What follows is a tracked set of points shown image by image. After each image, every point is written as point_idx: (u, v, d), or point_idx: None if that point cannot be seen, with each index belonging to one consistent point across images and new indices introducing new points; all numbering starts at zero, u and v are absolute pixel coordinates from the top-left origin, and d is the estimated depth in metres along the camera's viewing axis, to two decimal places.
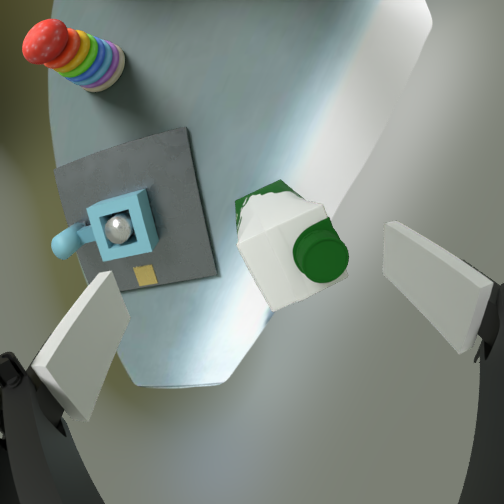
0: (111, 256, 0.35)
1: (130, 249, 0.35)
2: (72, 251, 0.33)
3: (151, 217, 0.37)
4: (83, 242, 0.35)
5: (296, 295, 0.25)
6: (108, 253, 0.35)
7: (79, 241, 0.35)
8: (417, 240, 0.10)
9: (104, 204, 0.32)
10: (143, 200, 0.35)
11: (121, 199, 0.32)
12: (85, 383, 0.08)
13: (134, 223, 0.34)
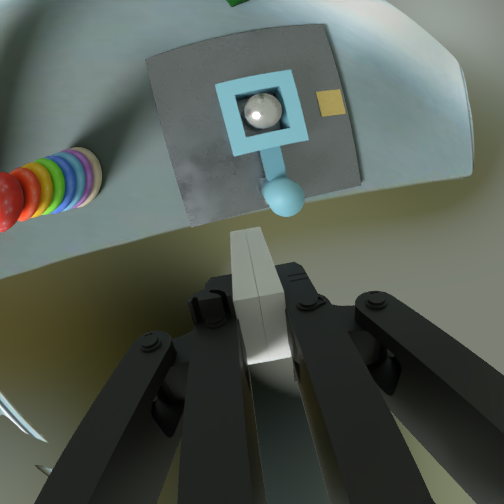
0: (300, 125, 0.26)
1: (289, 96, 0.25)
2: (293, 181, 0.27)
3: None
4: (284, 171, 0.29)
5: None
6: (296, 129, 0.26)
7: (283, 177, 0.29)
8: (253, 246, 0.12)
9: (228, 128, 0.26)
10: None
11: (221, 104, 0.25)
12: None
13: (253, 88, 0.24)
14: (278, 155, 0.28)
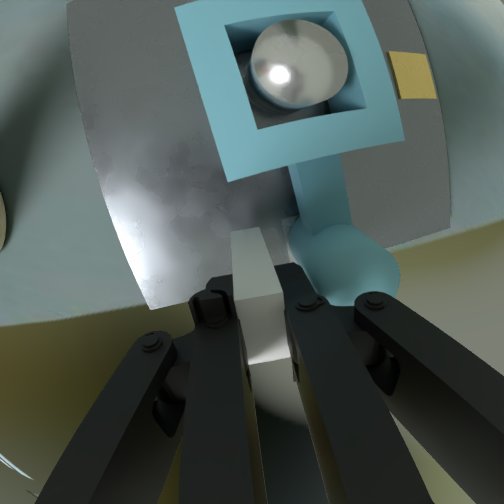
0: (388, 105, 0.09)
1: (359, 37, 0.08)
2: (378, 245, 0.10)
3: None
4: (346, 212, 0.12)
5: None
6: (380, 113, 0.10)
7: (344, 225, 0.12)
8: (253, 246, 0.12)
9: (209, 106, 0.09)
10: None
11: (190, 47, 0.08)
12: None
13: (272, 10, 0.08)
14: (335, 174, 0.12)
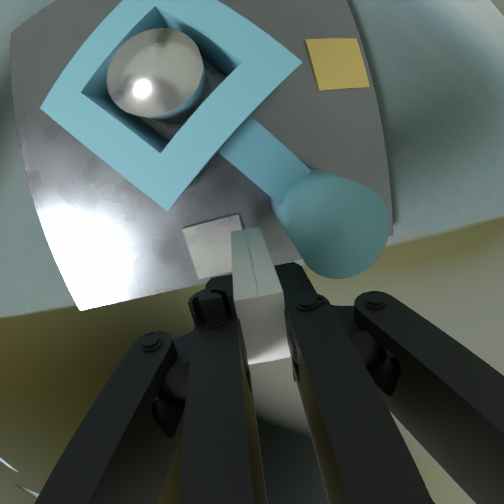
0: (261, 43, 0.08)
1: (192, 8, 0.07)
2: (335, 180, 0.09)
3: None
4: (298, 164, 0.11)
5: None
6: (258, 56, 0.08)
7: (303, 177, 0.11)
8: (253, 246, 0.12)
9: (113, 163, 0.09)
10: None
11: (70, 129, 0.09)
12: None
13: (106, 49, 0.08)
14: (262, 138, 0.11)
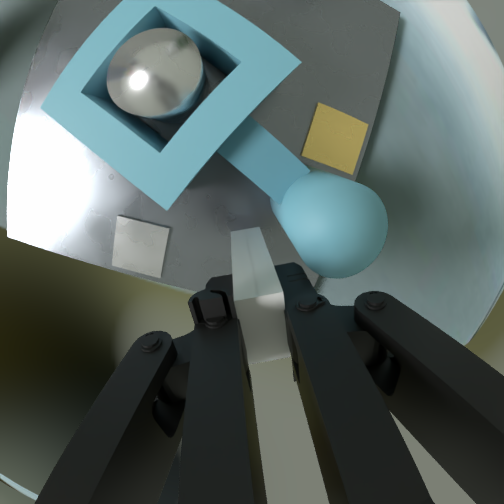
0: (261, 43, 0.08)
1: (191, 8, 0.07)
2: (334, 180, 0.09)
3: None
4: (297, 164, 0.11)
5: None
6: (258, 56, 0.08)
7: (302, 177, 0.11)
8: (253, 246, 0.12)
9: (112, 162, 0.09)
10: None
11: (70, 128, 0.09)
12: None
13: (106, 49, 0.08)
14: (261, 137, 0.11)
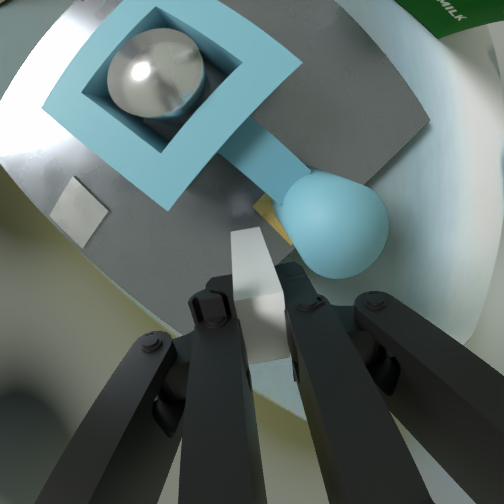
0: (262, 43, 0.08)
1: (192, 8, 0.07)
2: (336, 181, 0.09)
3: None
4: (298, 164, 0.11)
5: None
6: (259, 56, 0.08)
7: (303, 177, 0.11)
8: (253, 246, 0.12)
9: (113, 163, 0.09)
10: None
11: (71, 129, 0.09)
12: None
13: (107, 49, 0.08)
14: (262, 138, 0.11)
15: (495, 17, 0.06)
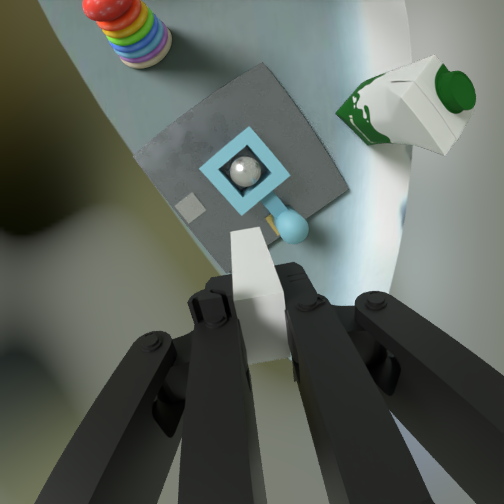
0: (279, 167, 0.33)
1: (259, 149, 0.32)
2: (293, 214, 0.34)
3: None
4: (284, 206, 0.36)
5: (454, 134, 0.20)
6: (277, 172, 0.33)
7: (285, 211, 0.36)
8: (253, 246, 0.12)
9: (226, 197, 0.33)
10: None
11: (212, 181, 0.33)
12: None
13: (229, 156, 0.32)
14: (273, 197, 0.35)
15: None
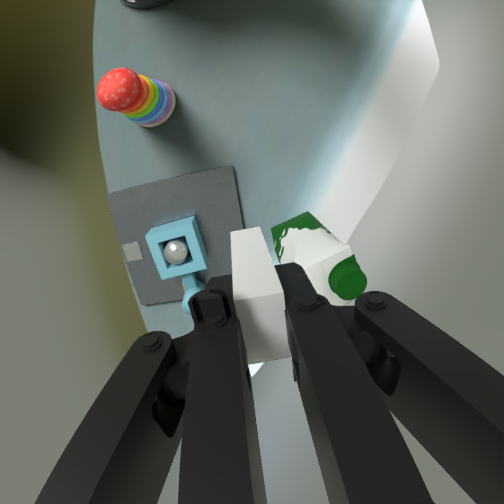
0: (200, 260, 0.44)
1: (191, 242, 0.42)
2: None
3: (172, 222, 0.45)
4: (194, 285, 0.46)
5: None
6: (198, 262, 0.44)
7: (194, 288, 0.46)
8: (253, 246, 0.12)
9: (156, 263, 0.43)
10: (155, 230, 0.43)
11: (150, 248, 0.42)
12: None
13: (168, 238, 0.42)
14: (190, 275, 0.46)
15: None
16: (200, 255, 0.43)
